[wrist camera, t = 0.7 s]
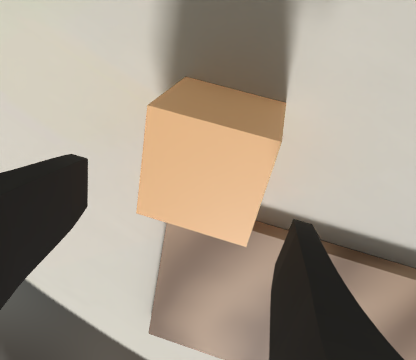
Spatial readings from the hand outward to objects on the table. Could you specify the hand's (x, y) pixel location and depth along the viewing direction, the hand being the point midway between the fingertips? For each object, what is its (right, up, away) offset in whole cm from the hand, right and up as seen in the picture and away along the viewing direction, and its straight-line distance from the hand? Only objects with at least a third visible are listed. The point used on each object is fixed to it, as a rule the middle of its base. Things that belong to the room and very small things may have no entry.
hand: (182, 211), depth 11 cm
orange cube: (+2, +3, +6) cm, 7 cm away
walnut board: (+6, -7, +11) cm, 14 cm away
